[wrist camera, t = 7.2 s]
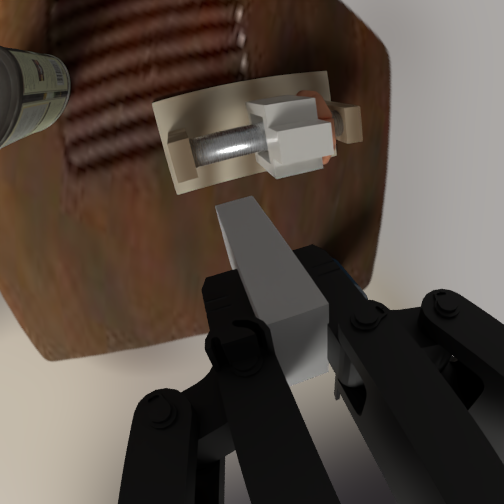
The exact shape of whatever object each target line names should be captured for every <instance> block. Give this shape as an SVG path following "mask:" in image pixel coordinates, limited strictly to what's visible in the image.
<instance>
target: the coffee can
mask: <svg viewBox="0 0 504 504" xmlns="http://www.w3.org/2000/svg"><path fill="white" fill-rule="evenodd" d="M70 84H71V82H70V76H69V73H68V70H67V68H66V66H65V65H64V63H63V62H62V61H61V60H60V59H59V58H57V57H55V56H53V55H49V54H41V53H36V52H30V51H24V50H19V49H12V48H5V47H2V46H0V148H2V147H4V146H6V145H8V144H11V143H13V142H15V141H17V140H19V139H21V138H23V137H26V136H28V135H30V134H33V133H35V132H39V131H42V130H44V129H46V128H47V127H49V126H50V125H52V124H53V123H54V122H55V121H56V120H57V119H58V118H59V116H60V115H61V114H62V112H63V110H64V108H65V107H66V104H67V102H68V99H69V95H70Z"/></svg>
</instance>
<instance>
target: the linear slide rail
mask: <svg viewBox="0 0 504 504" xmlns="http://www.w3.org/2000/svg"><path fill="white" fill-rule="evenodd" d="M301 90H308V91H316V92H318V93H319V94H320V95H321V96H322V97H323V99H324V101H325V103H326V104H327V106H328V108H329V110H330V111H333V110H336V111H338V112H339V114H340V115H341V117H342V120H343V124H344V131H343V134H342V135H341V136H338V137H336V139H337V140H339V141H342V142H344V143H347V144H349V143H355V142H361V141H363V138H362V124H361V112H360V106H356V105H350V104H345V103H339V102H332V101H331V97H330V89H329V82H328V75H327V71H317V72H305V73H296V74H287V75H279V76H272V77H265V78H258V79H252V80H246V81H241V82H235V83H230V84H225V85H220V86H216V87H211V88H207V89H202V90H198V91H194V92H190V93H186V94H182V95H179V96H175V97H171V98H168V99H164V100H161V101H157V102H154V103H152V106H153V110H154V114H155V118H156V121H157V125H158V129H159V133H160V136H161V140H162V144H163V147H164V151H165V155H166V158H167V162H168V165H169V169H170V172H171V176H172V179H173V183H174V186H175V189H176V193H177V195H179V194H182V193H186V192H189V191H192V190H196V189H199V188H203V187H206V186H210V185H214V184H217V183H221V182H225V181H228V180H232V179H236V178H240V177H244V176H248V175H252V174H256V173H260V172H264V171H267V170H266V169H264V168H263V167H262V166H261V165H260V164H259V163H258V162H256V156H255V153H252V154H248V155H244V156H240V157H236V158H232V159H228V160H224V161H220V162H216V163H212V164H209V165H205V166H201V167H198V168H196V166H195V162H194V158H193V155H192V151H191V147H190V143H189V139H192V138H196V137H199V136H203V135H207V134H211V133H215V132H219V131H223V130H228V129H232V128H236V127H241V126H245V125H250V124H249V119H248V114H247V109H246V103H245V102H248V101H253V100H259V99H265V98H270V97H277V96H283V95H294V96H295V95H296V94H297V93H298V92H299V91H301ZM335 145H336V144H335ZM332 156H337V154H336V148H335V150H334V155H332ZM332 156H331V157H332Z"/></svg>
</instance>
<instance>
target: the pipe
mask: <svg viewBox="0 0 504 504" xmlns="http://www.w3.org/2000/svg"><path fill="white" fill-rule="evenodd" d="M331 113H332V118H333V119H334V127H335V137H338V136H341V135H342V134H343V131H344V124H343V120H342V117H341V115H340V114H339V112H338V111H336V110H333V111H331ZM189 143H190V147H191V151H192V155H193V158H194V162H195V166H196V168H198V167H201V166H205V165H209V164H212V163H216V162H220V161H224V160H228V159H232V158H236V157H240V156H244V155H248V154H252V153H257V152H261V151H265V150H268V146H267V140H266V134H265V129H264V123H263V122H260V123H255V124H250V125H245V126H241V127H236V128H232V129H228V130H223V131H219V132H215V133H211V134H207V135H203V136H199V137H196V138H192V139H189Z"/></svg>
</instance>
